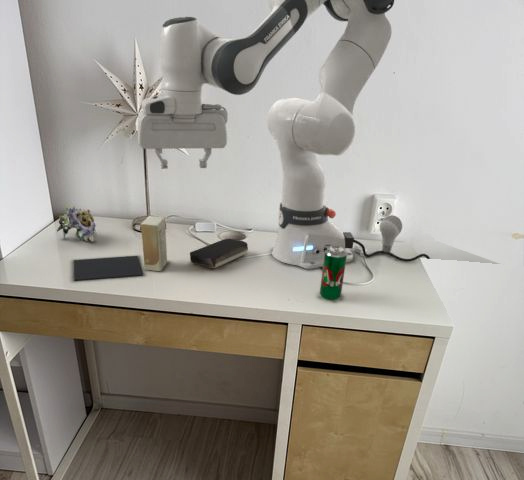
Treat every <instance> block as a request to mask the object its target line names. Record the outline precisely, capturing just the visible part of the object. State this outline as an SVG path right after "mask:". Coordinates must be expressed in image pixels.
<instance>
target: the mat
mask: <svg viewBox="0 0 524 480" xmlns="http://www.w3.org/2000/svg"><path fill="white" fill-rule="evenodd" d="M141 276H143V271H142V268H141V265H140V260H139V257H138V255H129V256H126V255H125V256H113V257H100V258H85V259H84V258H83V259H74V260H73V281H74V282H76V281H77V282H79V281H90V280H101V279H102V280H103V279H116V278H127V277H129V278H130V277H141Z"/></svg>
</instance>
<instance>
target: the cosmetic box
mask: <svg viewBox="0 0 524 480" xmlns="http://www.w3.org/2000/svg"><path fill="white" fill-rule="evenodd" d="M140 230H141V231H140V232H141V240H142V241H141V242H142V253H143V266H144V270H145V271H155V272H161V271H162V270H163V269H164V268H165V266H166V264H167V263H168V251H167V250H168V249H167V236H166V235H167V234H166V218H165V216H164V217H163V216H155V215H154V216H153V215H148V216H147V217H145V219H144V220H143V221H142V222H141V223H140Z"/></svg>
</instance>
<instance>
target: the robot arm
mask: <svg viewBox="0 0 524 480" xmlns="http://www.w3.org/2000/svg"><path fill="white" fill-rule="evenodd" d="M267 2H268V6H269V8H270V11H271V12H270V13H269V14H268V15H267V16H266V17H265V18H264V19H263V20H262V21H261V22H260V23H259V24H258V25H257V27H255V29H253V30H252V32H250V33H249V34H248V35H246V36H244V37H240V38H235V39H231V38H225V37H220V36H219V35H218V34H215V33H214V32H212V31H211V30H209V29H208V28H206V27H205V26H204V25H203V24H202V23H201V22H200V21H199V20H198V19H197V18H196V17H193V16H184V17H182V16H180V17H174V18H170V19H168V20H166V21H164V23H163V24H162V26H161V29H160V37H159V65H160V70H161V75H162V80H161V84H160V90H161V92H160V93H158V94H156V95H152V96H150V97H146V98H144V99H142V100H141V102H140V103H141V109H142V112H140V115H139V117H138V121H137V143H138V145H139V146H140V147H141V149H144V150H148V149H149V150H153V149H154V153H155V154H156V156H157V158H158V159H159V163H160V169H161V170H168V169H169V166H168V164H169V163H168V159H163V157H162V155H161V154H163V149H164V150H165V149H170V150H173V149H175V150H177V149H178V150H179V149H203V152H204V155H203V157H202V158H199V159H198V162H199V163H198V166H199V168H200V169H207V167H208V160H209V159H210V156H212V149H224V148H225V147H226V145H227V144H228V135H227V134H228V132H227V126H226V125H227V123H228V119H229V118H228V117H229V116H228V115H229V114H228V110H227V108H226V107H224V106H222V104H220V103H216V104H212V103H211V104H210V103H203V86H204V85H205V84H206V85H209V86H212V87H214V88H218V89H221V90H223V91H225V92H227V93H228V94H231V95H235V96H242V95H245V94H247V93H249V92H250V91H252V90H253V89H254V88H255V87H256V85H257V84H258V83H259V81H260V80H261V77H262V76H263V73H264V71H265V69H266V67H267V66H268V65H269V63H270V62H271V61H272V60H273V58H275V56H276V55H277V54H278V53H279V52H280V51H281V49H283V47H285V46H286V45H287V43H288V42H289V41H290V40H291V39H292V38H293V37H294V36H295V35H296V33H297V32H298V31H299V30H300V29H301V27H302V26H303V25H304V23H305V22H306V20H307V19H308V18H309V17H310V16H312V14H314V13H315V12H316V11H317V10H318V9H319V8H320V7H322V6H324V7H325V9H326V11H327V12H328V14H329V15H330V16H331V17H332V18H333V19H334V20H336V21H338V22H347V23H346V27H345V30H344V32H343V33H342V35H341V36H340V38H339V39H338V40H337V42H336V43H335V45H334V47H333V48H332V50H331V51H330V53H329V54H328V56H327V57H326V59H325V60H324V62H323V64H322V65H321V66H320V68H319V71H318V81H319V86H320V87H321V89H320V92H319V94H318V96H317V98H315V99H314V100H313V101H312V100H308V99H304V98H303V99H302V98H298V97H289V98H288V97H287V98H282V99H279V100H277V101H275V102H274V103H273V104H272V106H271V107H270V109H269V111H268V113H267V120H266V124H267V130H268V132H269V133H270V135H271V136H272V137H273V140H274V141H275V144H276V147H277V150H278V154H279V158H280V164H281V170H282V185H281V186H282V189H281V202H280V203H279V208H278V215H277V216H278V217H277V218H278V222H277V223H278V231H277V235H276V239H275V243H274V246H273V249H272V250H271V251H272V252H271V255H272V257H273V258H274V259H276V260H277V261H279V262H281V263H284V264H287V265H292V266H298V267H301V268H303V269H305V270H306V269H307V270H312V269H317V268H323V263H324V255H325V251H326V250H327V247H329V246H340V247H343V248H345V249H346V253H347V258H346V263H350V262H353V260H354V254H353V252H352V251H351V249H353V248H354V244H357V245H358V246H360V247H361V250H362V254H363V257H366V258H371V257H374V256H376V255H378V254H385V255H388V256H389V257H392V258H394V259H395V260H398V261H401V262H414V261H416V260H418V259H420V258H422V257H425V258H426V259H428V260H429V259H431V257H430V256H429V255H428V254H427V253H420V254H418V255H416V256H414V257H411V258H403V257H401V256H397V255H396V254H394V253H393V252H384V251H382V250H376V251H374V252H372V253H370V254H368V253H367V251H366V247H365V246H364V245H365V244H363V243H362V242H360V241H358V240H357V239H355V237H354V235H353V233H352V232H350V231H348V232H347V231H341V230H340V229H339V227H337V226H336V225H335V223H333V222H332V221H330V220H329V219H334V218H335V217H336V215H337V214H336V211H335V210H334V209H332V208H329V207H327V206H326V205H325V194H326V185H327V176H326V173H325V171H324V170H323V168H322V166H321V165H320V163H319V160H318V155H320V156H324V157H325V156H327V157H338V156H342V155H344V154H345V153H346V152H347V151H348V150H349V149H351V147H352V145H353V143H354V141H355V139H356V132H357V127H356V121H355V118H354V116H353V114H354V107H355V104H356V101H357V99H358V97H359V96H360V94H361V92H362V90H363V89H364V87H365V86H366V84H367V82H368V81H369V79H370V78H371V76H372V74H373V73H374V71H375V70H376V68H377V66H378V65H379V64H380V62H381V60H382V58H383V56H384V55H385V52H386V50H387V48H388V45H389V43H390V41H391V38H392V26H391V25H392V24H391V23H390V21H389V19H388V17H387V16H386V13H387V12H389V11H390V10H391V9H392V8H393V6H394V4H395V0H267Z"/></svg>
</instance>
